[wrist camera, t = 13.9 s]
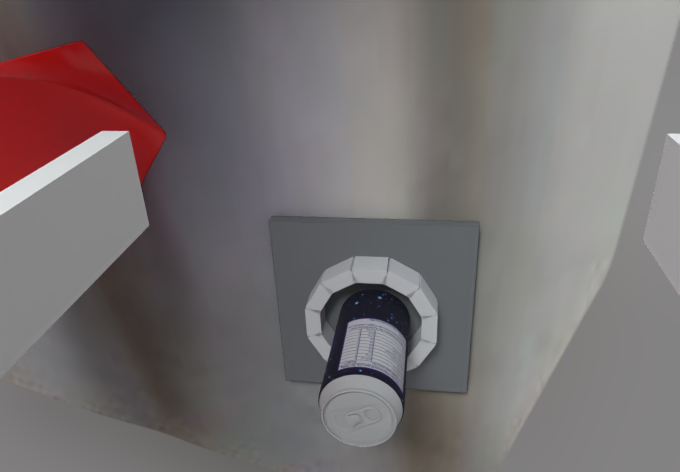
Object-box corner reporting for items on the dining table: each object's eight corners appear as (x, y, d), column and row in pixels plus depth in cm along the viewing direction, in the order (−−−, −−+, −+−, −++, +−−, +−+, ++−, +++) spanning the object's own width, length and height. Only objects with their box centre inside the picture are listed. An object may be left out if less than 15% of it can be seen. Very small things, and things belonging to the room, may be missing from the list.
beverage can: (329, 297, 48) (298, 400, 37) (391, 273, 46) (377, 375, 35) (361, 348, 50) (341, 460, 39) (422, 327, 48) (418, 439, 37)
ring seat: (288, 372, 53) (280, 395, 51) (272, 215, 46) (262, 233, 43) (465, 384, 51) (467, 409, 48) (478, 221, 44) (481, 240, 41)
